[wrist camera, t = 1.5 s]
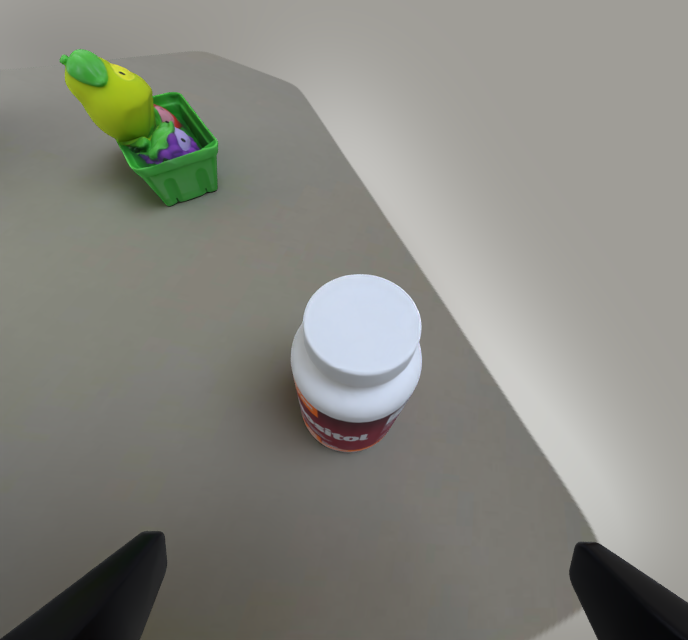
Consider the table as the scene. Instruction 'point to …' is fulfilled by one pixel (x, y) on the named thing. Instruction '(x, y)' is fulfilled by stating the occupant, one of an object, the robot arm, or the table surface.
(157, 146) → the fruit basket
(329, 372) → the pill bottle
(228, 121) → the table surface
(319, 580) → the table surface
